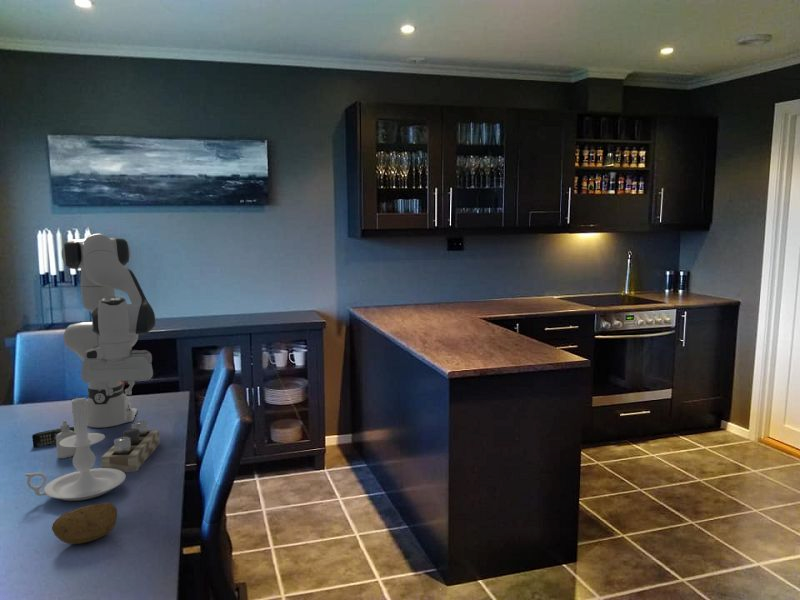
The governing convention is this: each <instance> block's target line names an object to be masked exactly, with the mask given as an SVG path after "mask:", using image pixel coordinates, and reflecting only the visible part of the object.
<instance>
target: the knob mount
mask: <svg viewBox="0 0 800 600" xmlns="http://www.w3.org/2000/svg"><path fill="white" fill-rule="evenodd" d="M159 432H160V430H159V429H154V430H153V429H151V430H149V429H147V436H146V437H139V444H138V445H135V446H131V453H130V454H129V455H115V447H114V445H112V446H111V448H109V449H108V450H107V451H106V452H105V453H104V454H103V455H102V456H101V459H100V460H101V468H112V469H117V470H120V471H122V472H124V473H130V472H129V471H137V472H138V470H139V469H140V468H141V467H142V466H143V465H144V464H145V462H146V461H147V460H148V458H149V457H150V456H151V455H152V454H153V453H154V451H155V450H156V449H157V448H158V447H159V445H160V433H159ZM122 437H124V436H122ZM151 453H152V454H151ZM150 454H151V455H150ZM146 459H147V460H146ZM145 460H146V461H145ZM144 461H145V462H144ZM141 465H142V466H141ZM140 466H141V467H140ZM139 467H140V468H139Z"/></svg>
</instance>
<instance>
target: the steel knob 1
mask: <svg viewBox="0 0 800 600" xmlns="http://www.w3.org/2000/svg"><path fill="white" fill-rule="evenodd" d="M113 446H114V447H115V455H129V454H130V453H131V442H130V437H123V436H121V437H117V438H115V439H113Z"/></svg>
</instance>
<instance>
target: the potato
mask: <svg viewBox="0 0 800 600" xmlns="http://www.w3.org/2000/svg"><path fill="white" fill-rule="evenodd" d="M117 518H118V509H117V508H116V506H115V505H114V504H112V503H111V502H101V503H95V504H90V505H84V506H81V507H78V508H76V509H73V510H71V511H68V512H65V513H63V514H61V515H60V516H59V517H58V518H56V519H55V520H54V522H53V523H52V525H51V530H52V532H53V534H54V536H55V537H56V538H57V539H58V540H60V541H61V542H64V543H66V544H70V545H75V544H76V545H77V544H86V543H88V542H89V543H90V542H93V541H95V540H97V539H100V538H102V537H104V536H107V535H108V534H110V533H111V532H112V530H113V529H114V528H115V526H116V522H117V520H118V519H117Z"/></svg>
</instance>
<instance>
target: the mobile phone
mask: <svg viewBox="0 0 800 600" xmlns="http://www.w3.org/2000/svg"><path fill="white" fill-rule="evenodd" d="M69 428H70V430H72V431H74V426H69ZM60 432H62V431H61V427H60V428H55V429H51V430H50V429H49V430H45V431H44V430H43V431H41V432H39V431H38V432H36V433H34V434H32V435H31V436H32V437H31V438H32V446H33V448H40V446H41V447H45V445H47V446H52V445H51V444H53V445H56V435H57V434H58V433H60ZM75 434H76V433H75Z"/></svg>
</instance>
